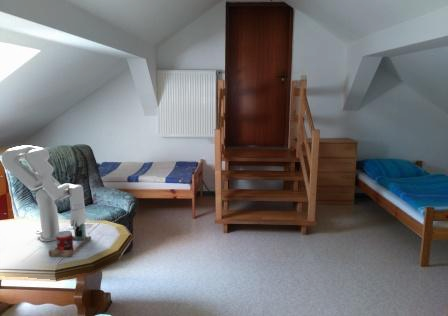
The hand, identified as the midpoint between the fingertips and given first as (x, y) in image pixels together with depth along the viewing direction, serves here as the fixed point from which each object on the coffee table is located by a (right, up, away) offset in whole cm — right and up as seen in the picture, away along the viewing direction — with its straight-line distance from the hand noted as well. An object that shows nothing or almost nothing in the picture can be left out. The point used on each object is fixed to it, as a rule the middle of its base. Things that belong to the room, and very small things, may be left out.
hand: (80, 235), depth 209 cm
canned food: (-2, -6, -15) cm, 17 cm away
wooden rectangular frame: (-1, -4, -10) cm, 11 cm away
